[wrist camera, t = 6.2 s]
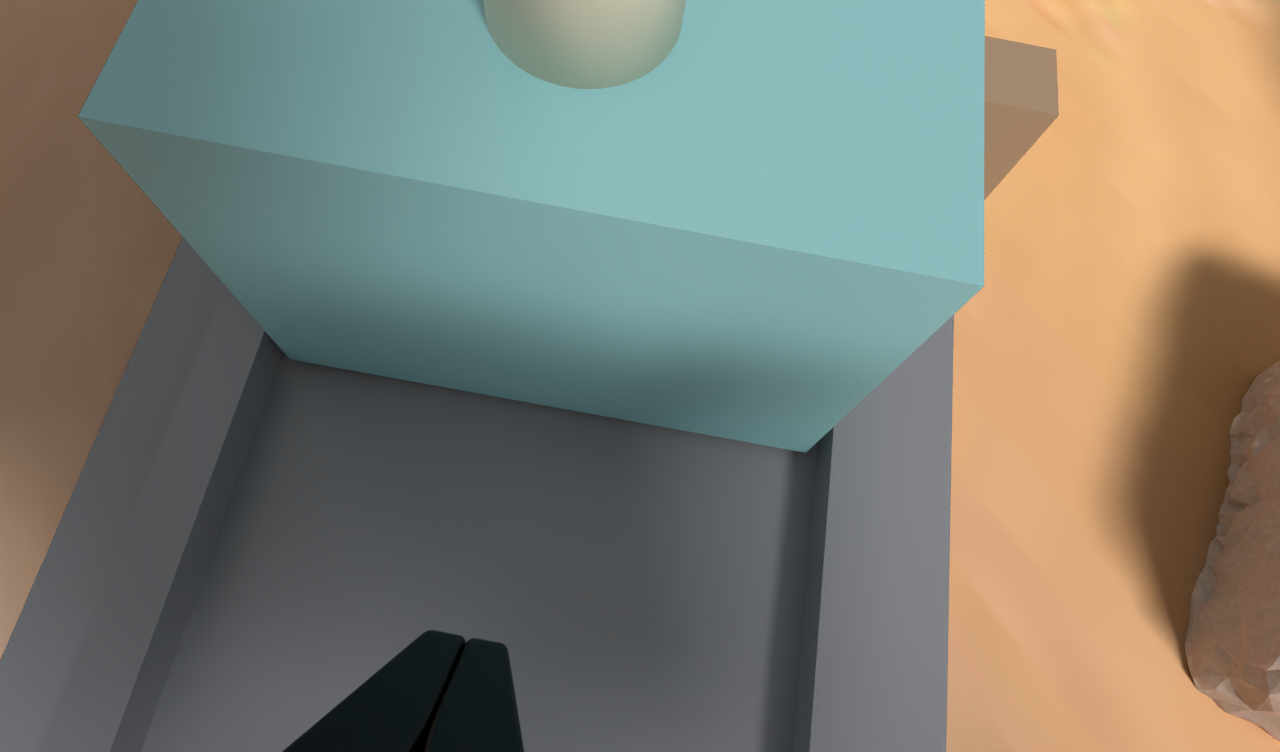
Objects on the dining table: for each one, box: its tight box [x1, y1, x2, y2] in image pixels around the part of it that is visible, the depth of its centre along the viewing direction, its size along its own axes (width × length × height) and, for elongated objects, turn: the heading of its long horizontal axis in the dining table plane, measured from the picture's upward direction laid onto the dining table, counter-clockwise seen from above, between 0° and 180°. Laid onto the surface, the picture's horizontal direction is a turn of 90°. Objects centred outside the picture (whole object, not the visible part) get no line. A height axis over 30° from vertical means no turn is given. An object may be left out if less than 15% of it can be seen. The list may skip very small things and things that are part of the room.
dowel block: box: [78, 0, 985, 453], centre depth 11 cm, size 6×10×12 cm, turn 81°
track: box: [0, 36, 1059, 752], centre depth 13 cm, size 19×16×5 cm
